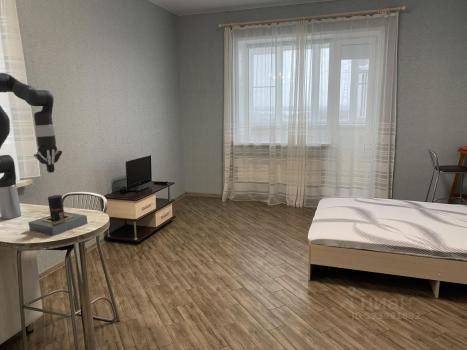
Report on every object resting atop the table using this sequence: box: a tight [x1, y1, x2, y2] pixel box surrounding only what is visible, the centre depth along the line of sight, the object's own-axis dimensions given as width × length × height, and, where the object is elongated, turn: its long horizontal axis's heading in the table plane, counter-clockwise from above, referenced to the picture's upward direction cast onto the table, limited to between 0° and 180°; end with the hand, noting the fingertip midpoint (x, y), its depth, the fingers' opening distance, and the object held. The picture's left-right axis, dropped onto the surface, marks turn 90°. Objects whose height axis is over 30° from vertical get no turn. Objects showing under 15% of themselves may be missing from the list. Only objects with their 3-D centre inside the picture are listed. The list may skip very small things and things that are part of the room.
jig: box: [27, 211, 88, 237], centre depth 165 cm, size 18×18×4 cm
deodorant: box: [47, 194, 65, 222], centre depth 164 cm, size 6×6×15 cm
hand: (51, 172), depth 160 cm, fingers closed
